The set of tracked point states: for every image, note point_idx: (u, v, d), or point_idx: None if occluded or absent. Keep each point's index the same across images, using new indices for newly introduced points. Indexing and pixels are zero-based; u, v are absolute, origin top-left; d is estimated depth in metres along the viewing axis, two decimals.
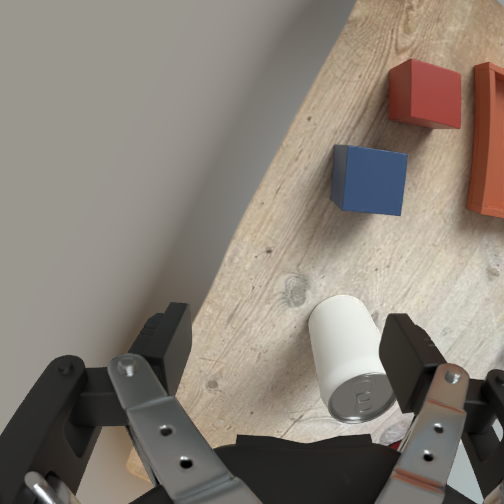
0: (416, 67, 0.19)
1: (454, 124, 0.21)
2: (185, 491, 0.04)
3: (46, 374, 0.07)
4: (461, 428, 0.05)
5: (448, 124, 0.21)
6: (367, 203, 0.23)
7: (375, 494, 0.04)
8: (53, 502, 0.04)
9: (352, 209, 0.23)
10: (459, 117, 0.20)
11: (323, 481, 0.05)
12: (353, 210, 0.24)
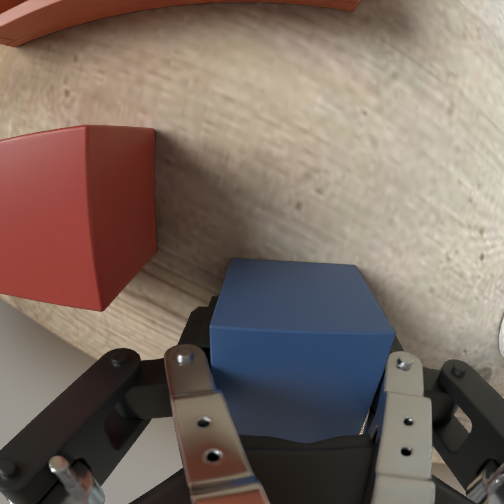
0: None
1: (79, 153, 0.07)
2: (203, 482, 0.04)
3: (99, 364, 0.08)
4: (429, 415, 0.06)
5: (85, 178, 0.07)
6: (349, 409, 0.09)
7: None
8: (74, 487, 0.05)
9: (356, 431, 0.09)
10: (57, 135, 0.07)
11: (323, 481, 0.05)
12: (359, 429, 0.09)
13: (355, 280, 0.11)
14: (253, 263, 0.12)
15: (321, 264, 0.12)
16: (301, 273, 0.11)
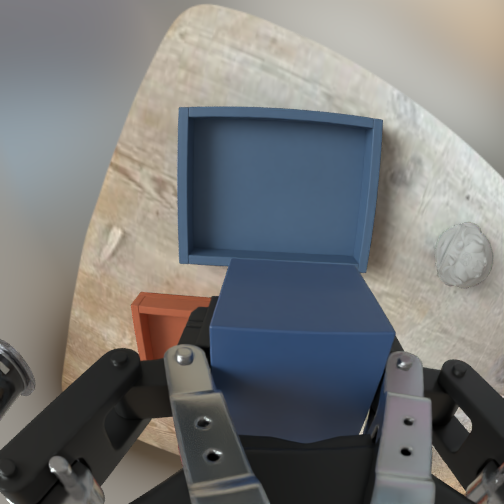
0: None
1: None
2: (203, 482, 0.04)
3: (99, 364, 0.08)
4: (429, 415, 0.06)
5: None
6: (348, 409, 0.09)
7: None
8: (74, 488, 0.05)
9: (356, 431, 0.09)
10: None
11: (323, 481, 0.05)
12: (359, 429, 0.09)
13: (355, 280, 0.11)
14: (253, 263, 0.12)
15: (321, 264, 0.12)
16: (301, 273, 0.11)
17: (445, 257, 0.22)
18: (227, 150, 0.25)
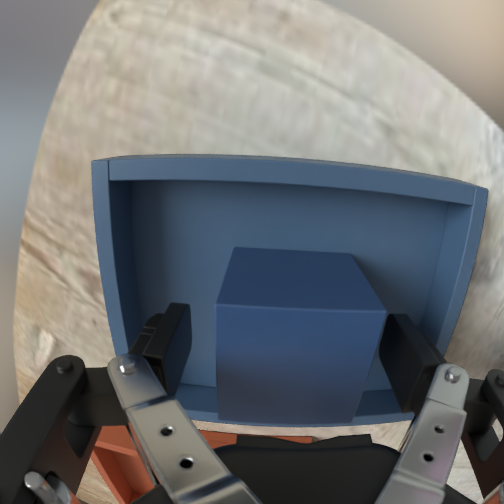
0: None
1: None
2: (185, 491, 0.04)
3: (46, 374, 0.07)
4: (461, 428, 0.05)
5: None
6: (345, 387, 0.10)
7: (375, 494, 0.04)
8: (53, 502, 0.04)
9: (353, 410, 0.10)
10: None
11: (323, 481, 0.05)
12: (355, 408, 0.10)
13: (350, 266, 0.12)
14: (254, 251, 0.13)
15: (318, 252, 0.13)
16: (299, 260, 0.12)
17: None
18: (194, 236, 0.13)
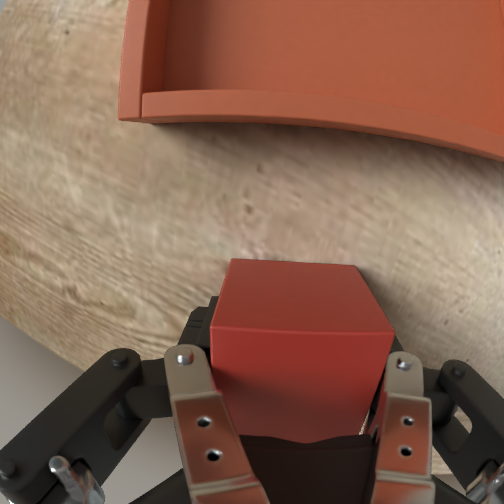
0: None
1: (383, 353, 0.08)
2: (203, 482, 0.04)
3: (99, 364, 0.08)
4: (429, 415, 0.06)
5: (381, 369, 0.08)
6: None
7: None
8: (74, 487, 0.05)
9: None
10: (363, 338, 0.08)
11: (323, 481, 0.05)
12: None
13: None
14: None
15: None
16: None
17: None
18: None
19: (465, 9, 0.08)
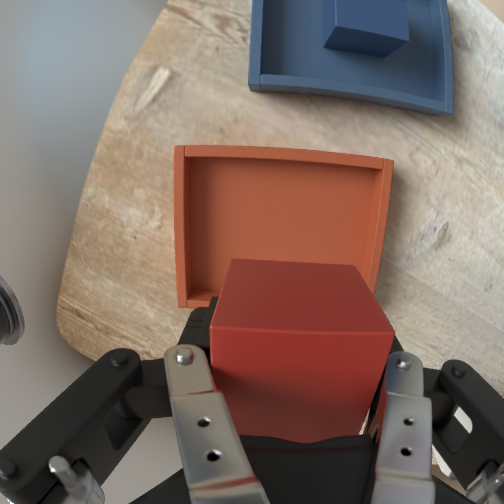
0: None
1: (383, 353, 0.08)
2: (203, 482, 0.04)
3: (99, 364, 0.08)
4: (429, 415, 0.06)
5: (381, 369, 0.08)
6: (398, 13, 0.14)
7: None
8: (74, 487, 0.05)
9: (407, 30, 0.15)
10: (362, 338, 0.08)
11: (323, 481, 0.05)
12: (408, 29, 0.15)
13: None
14: None
15: None
16: None
17: None
18: None
19: (339, 231, 0.25)
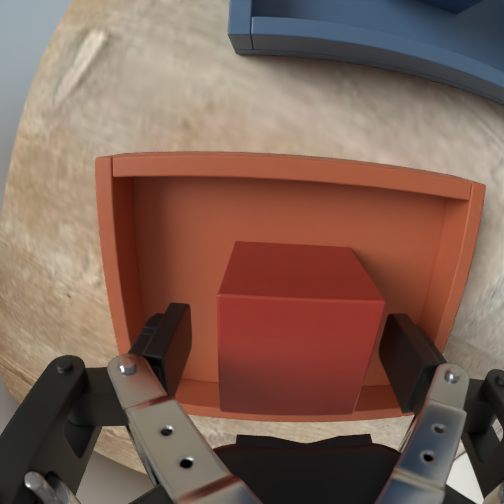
0: (239, 405, 0.10)
1: (375, 321, 0.09)
2: (185, 491, 0.04)
3: (46, 374, 0.07)
4: (461, 428, 0.05)
5: (374, 337, 0.09)
6: None
7: (375, 494, 0.04)
8: (53, 502, 0.04)
9: None
10: (355, 306, 0.09)
11: (323, 481, 0.05)
12: None
13: None
14: None
15: None
16: None
17: None
18: None
19: (385, 297, 0.14)
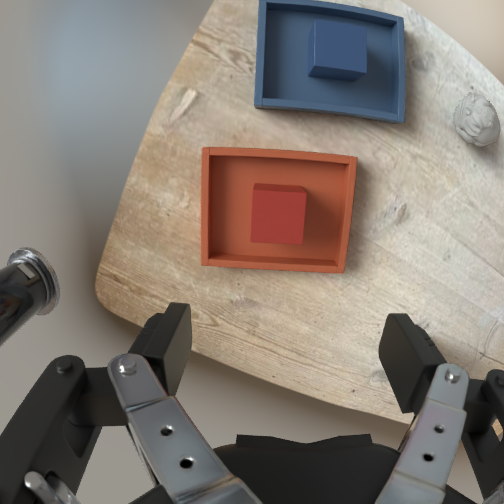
0: (257, 237, 0.30)
1: (304, 200, 0.29)
2: (185, 491, 0.04)
3: (46, 374, 0.07)
4: (461, 428, 0.05)
5: (304, 207, 0.29)
6: (359, 52, 0.24)
7: (375, 494, 0.04)
8: (53, 502, 0.04)
9: (365, 65, 0.24)
10: (296, 194, 0.29)
11: (323, 481, 0.05)
12: (366, 64, 0.24)
13: None
14: None
15: None
16: None
17: (463, 108, 0.25)
18: (292, 30, 0.28)
19: (320, 209, 0.34)
